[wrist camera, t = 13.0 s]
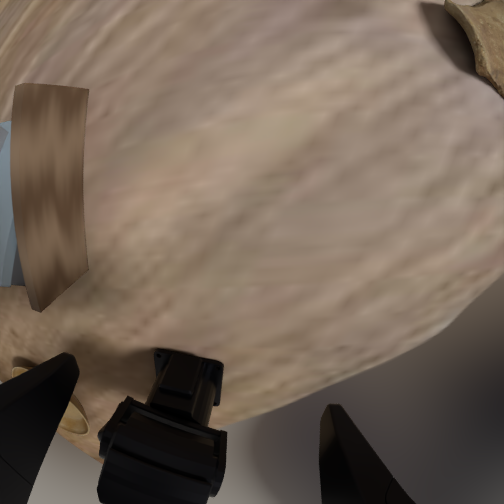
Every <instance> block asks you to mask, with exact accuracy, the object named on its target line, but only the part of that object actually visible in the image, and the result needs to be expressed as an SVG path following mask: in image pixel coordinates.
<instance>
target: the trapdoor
mask: <svg viewBox="0 0 504 504" xmlns="http://www.w3.org/2000/svg"><path fill="white" fill-rule="evenodd" d="M0 126H1V127H2V128H4V129H5V130H6V131H8V132H9V133H8V135H7V137H6V140H5V142H4V145H3V147H2V150H1V152H0V286H3V287H11V285H21V286H26V285H25V281H24V276H23V272H22V267H21V262H20V257H19V252H18V246H17V239H16V233H15V225H14V217H13V207H12V195H11V177H10V138H11V121H7V122H3V123H0Z"/></svg>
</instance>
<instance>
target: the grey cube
mask: <svg viewBox="0 0 504 504" xmlns="http://www.w3.org/2000/svg"><path fill="white" fill-rule="evenodd" d="M8 133H9V132H8V131H6V130H5V129H4V128H2V127H1V126H0V152H1V150H2V147H3V145H4V142H5V140H6V137H7V135H8Z"/></svg>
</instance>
